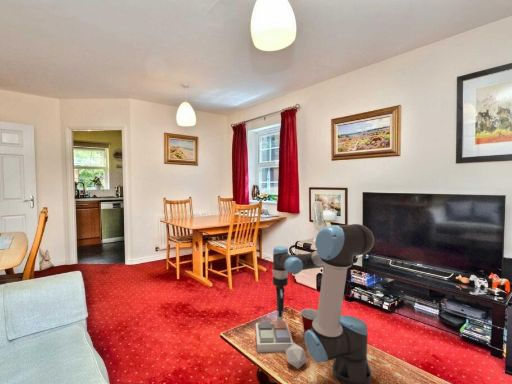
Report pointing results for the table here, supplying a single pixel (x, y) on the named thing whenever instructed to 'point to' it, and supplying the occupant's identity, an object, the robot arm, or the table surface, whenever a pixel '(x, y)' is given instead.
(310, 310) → the plastic cup
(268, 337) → the key sage
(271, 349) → the keypad
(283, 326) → the key terracotta
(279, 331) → the key slate
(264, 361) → the table surface
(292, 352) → the die
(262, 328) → the key charcoal
